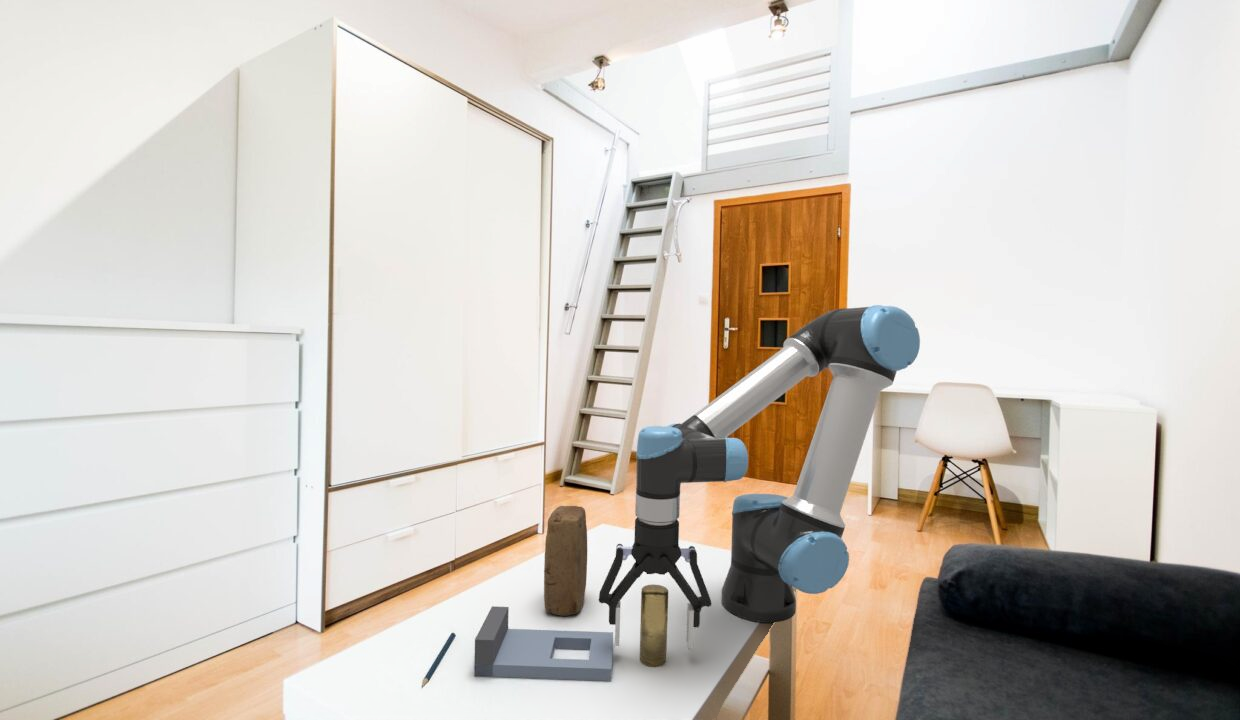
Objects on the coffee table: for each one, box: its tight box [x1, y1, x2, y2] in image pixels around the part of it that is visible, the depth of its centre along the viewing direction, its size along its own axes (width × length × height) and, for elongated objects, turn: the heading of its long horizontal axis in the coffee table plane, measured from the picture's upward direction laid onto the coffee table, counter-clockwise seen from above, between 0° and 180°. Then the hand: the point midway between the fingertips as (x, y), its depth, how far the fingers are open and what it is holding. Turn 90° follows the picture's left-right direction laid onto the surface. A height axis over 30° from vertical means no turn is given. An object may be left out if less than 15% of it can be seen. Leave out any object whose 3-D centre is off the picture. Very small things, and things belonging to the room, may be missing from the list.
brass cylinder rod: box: [639, 584, 669, 668], centre depth 94 cm, size 5×5×12 cm
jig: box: [473, 606, 614, 682], centre depth 93 cm, size 22×11×6 cm, turn 89°
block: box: [543, 505, 588, 617], centre depth 112 cm, size 11×8×20 cm
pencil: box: [421, 632, 456, 688], centre depth 92 cm, size 1×1×15 cm
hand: (653, 643), depth 94 cm, fingers open, 12 cm apart
